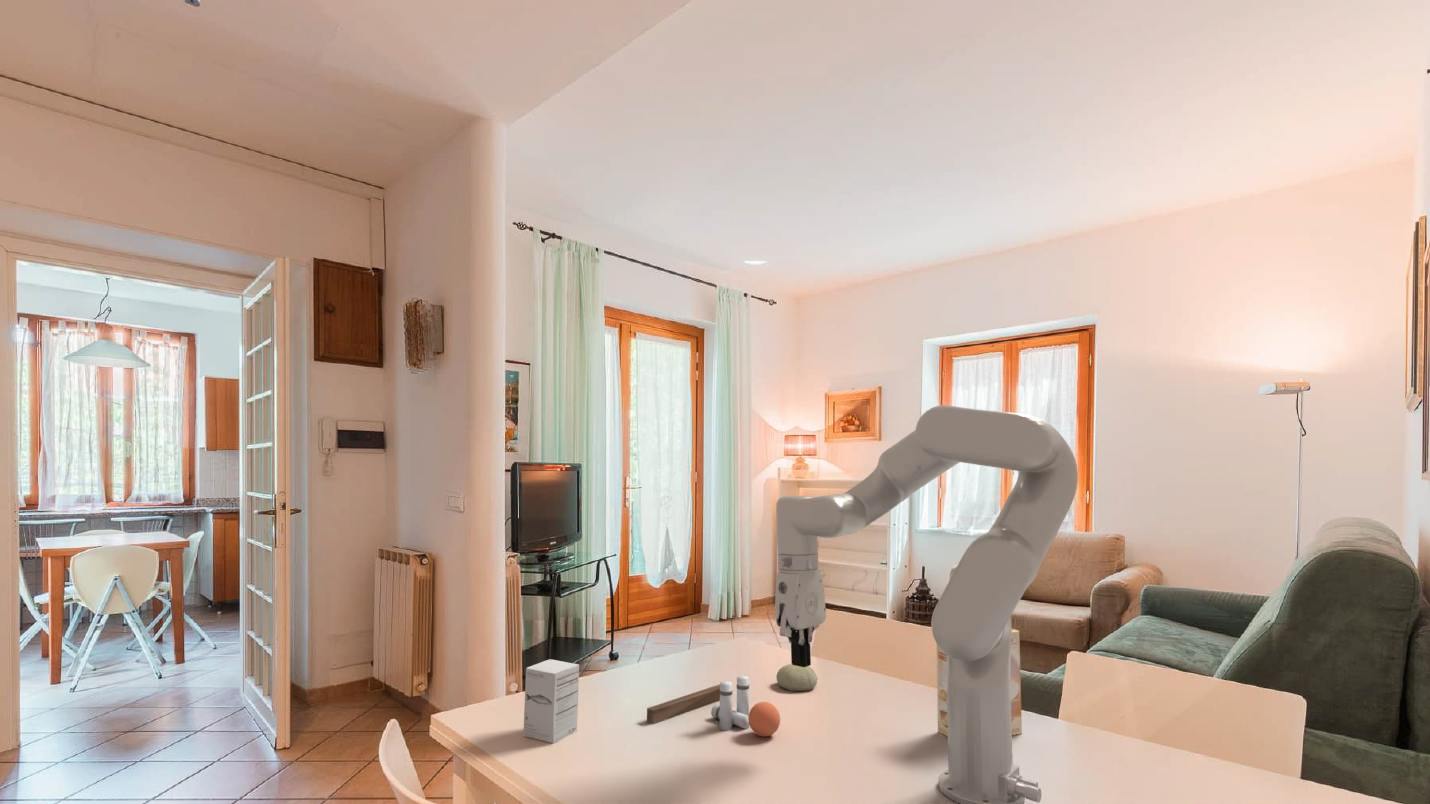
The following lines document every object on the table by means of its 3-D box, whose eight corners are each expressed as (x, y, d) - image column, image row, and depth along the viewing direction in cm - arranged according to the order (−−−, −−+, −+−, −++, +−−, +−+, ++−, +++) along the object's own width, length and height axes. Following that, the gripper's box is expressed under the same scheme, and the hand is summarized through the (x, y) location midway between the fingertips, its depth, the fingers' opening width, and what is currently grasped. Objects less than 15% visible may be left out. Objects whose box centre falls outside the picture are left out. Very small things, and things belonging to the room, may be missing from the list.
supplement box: (521, 737, 128) (524, 667, 130) (548, 724, 135) (550, 657, 136) (552, 745, 125) (554, 673, 126) (578, 731, 131) (580, 663, 133)
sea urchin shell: (820, 686, 154) (794, 658, 156) (795, 710, 155) (770, 682, 156) (822, 673, 163) (798, 648, 165) (798, 696, 164) (774, 670, 165)
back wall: (728, 697, 151) (728, 685, 152) (653, 723, 135) (653, 710, 136) (721, 695, 153) (722, 683, 153) (646, 721, 137) (646, 708, 137)
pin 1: (734, 727, 134) (735, 683, 134) (726, 731, 132) (726, 686, 133) (725, 724, 135) (725, 680, 136) (716, 727, 134) (717, 683, 134)
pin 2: (751, 721, 137) (751, 677, 138) (743, 724, 136) (743, 680, 136) (742, 717, 139) (742, 674, 140) (733, 721, 137) (734, 677, 138)
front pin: (751, 714, 135) (719, 703, 140) (742, 716, 133) (711, 705, 139) (750, 727, 134) (718, 716, 140) (742, 730, 132) (710, 718, 138)
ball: (759, 696, 135) (764, 729, 134) (739, 705, 131) (744, 739, 130) (783, 698, 131) (788, 732, 130) (764, 707, 127) (769, 742, 126)
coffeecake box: (962, 745, 126) (959, 636, 128) (936, 731, 133) (934, 628, 134) (1024, 734, 132) (1021, 630, 134) (996, 721, 138) (993, 622, 140)
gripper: (789, 569, 120) (792, 678, 118) (837, 560, 131) (841, 660, 129) (756, 565, 125) (759, 670, 123) (805, 557, 136) (808, 653, 134)
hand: (801, 665), depth 126 cm, fingers closed
